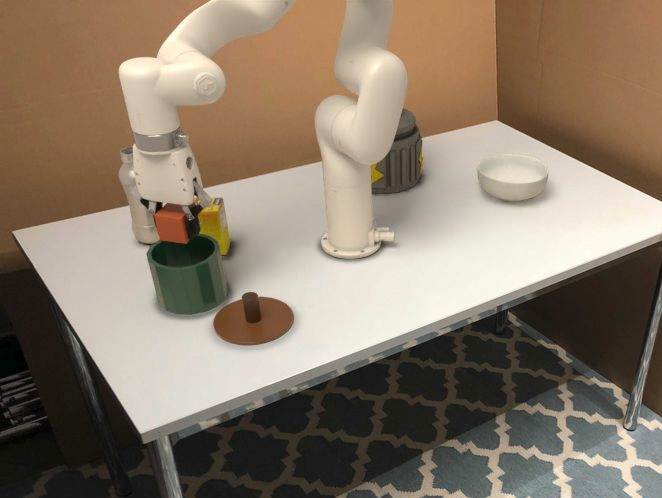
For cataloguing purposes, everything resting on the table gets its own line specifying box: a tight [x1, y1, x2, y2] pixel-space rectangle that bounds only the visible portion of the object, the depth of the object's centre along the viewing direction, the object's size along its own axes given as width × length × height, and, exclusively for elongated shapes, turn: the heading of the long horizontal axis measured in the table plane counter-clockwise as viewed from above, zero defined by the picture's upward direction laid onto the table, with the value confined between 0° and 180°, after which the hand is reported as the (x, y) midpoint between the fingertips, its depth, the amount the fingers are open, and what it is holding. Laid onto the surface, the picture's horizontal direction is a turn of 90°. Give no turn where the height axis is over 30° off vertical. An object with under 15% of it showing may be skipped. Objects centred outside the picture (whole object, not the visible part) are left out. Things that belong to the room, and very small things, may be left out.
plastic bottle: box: [117, 146, 160, 245], centre depth 156 cm, size 6×7×20 cm
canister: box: [146, 233, 229, 316], centre depth 143 cm, size 13×13×10 cm
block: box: [154, 203, 192, 244], centre depth 136 cm, size 5×5×5 cm
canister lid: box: [212, 291, 294, 346], centre depth 139 cm, size 14×14×6 cm
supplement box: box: [194, 196, 232, 258], centre depth 156 cm, size 6×6×11 cm
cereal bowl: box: [476, 153, 550, 203], centre depth 183 cm, size 17×17×7 cm
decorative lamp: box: [371, 107, 424, 194], centre depth 180 cm, size 19×19×30 cm
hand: (179, 233), depth 137 cm, fingers closed on block, 5 cm apart
